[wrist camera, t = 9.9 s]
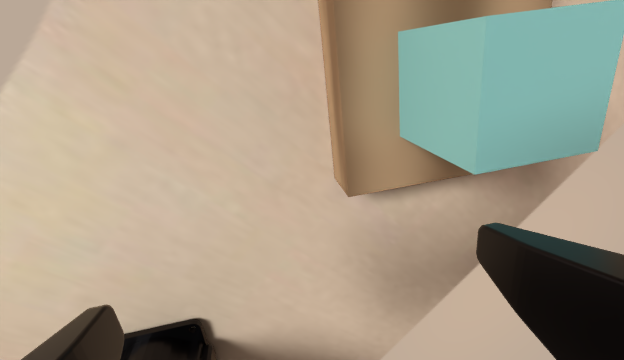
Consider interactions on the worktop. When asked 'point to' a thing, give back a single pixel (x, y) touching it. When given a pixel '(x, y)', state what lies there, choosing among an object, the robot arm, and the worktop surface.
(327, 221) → the worktop surface
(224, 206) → the worktop surface
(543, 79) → the teal block
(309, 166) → the worktop surface
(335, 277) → the worktop surface
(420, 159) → the oak base
